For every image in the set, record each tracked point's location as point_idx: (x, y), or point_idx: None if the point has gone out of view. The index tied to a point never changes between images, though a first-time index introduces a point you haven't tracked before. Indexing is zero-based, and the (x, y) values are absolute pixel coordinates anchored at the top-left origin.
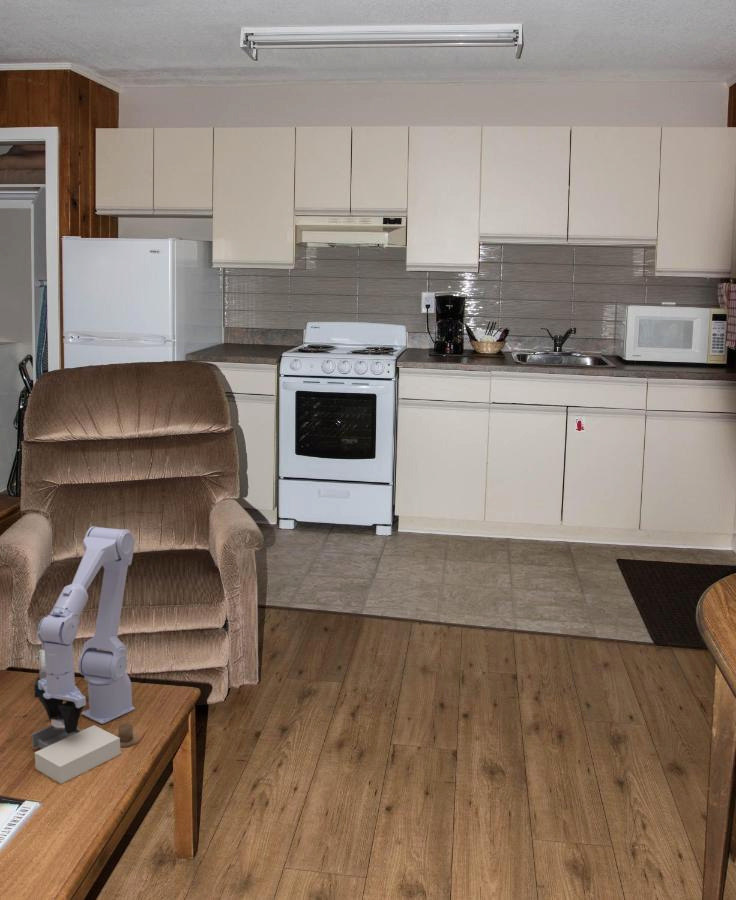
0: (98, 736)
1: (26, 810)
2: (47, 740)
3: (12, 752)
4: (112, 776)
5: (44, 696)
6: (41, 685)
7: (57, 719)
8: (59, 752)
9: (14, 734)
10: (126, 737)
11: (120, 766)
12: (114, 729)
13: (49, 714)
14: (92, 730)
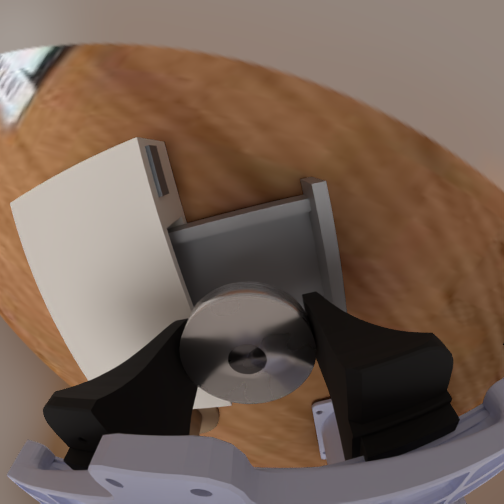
0: None
1: (8, 90)
2: (307, 242)
3: (344, 112)
4: (40, 314)
5: (162, 452)
6: (499, 432)
7: (252, 333)
8: (85, 234)
9: (451, 175)
10: None
11: None
12: (266, 414)
13: (319, 317)
14: None
